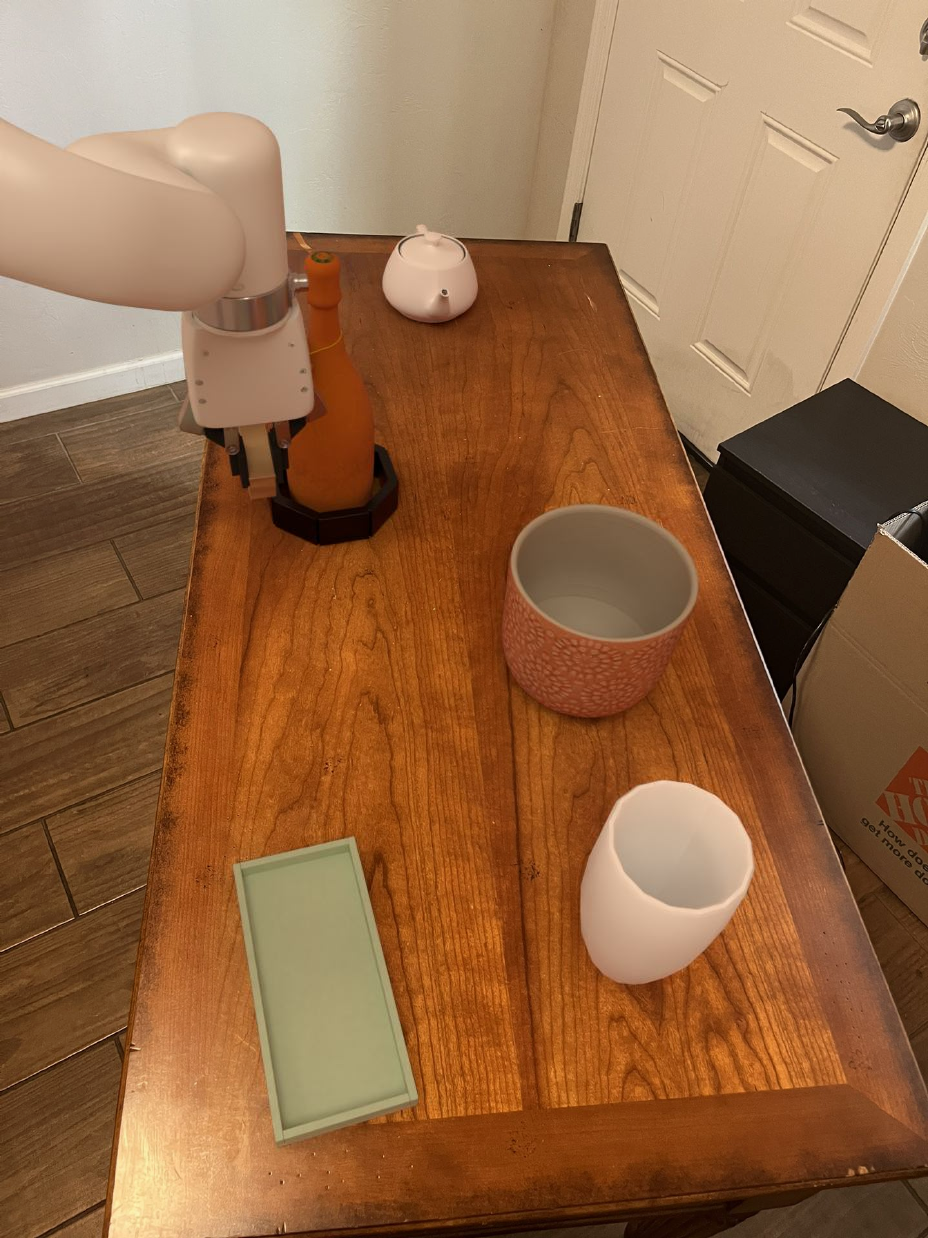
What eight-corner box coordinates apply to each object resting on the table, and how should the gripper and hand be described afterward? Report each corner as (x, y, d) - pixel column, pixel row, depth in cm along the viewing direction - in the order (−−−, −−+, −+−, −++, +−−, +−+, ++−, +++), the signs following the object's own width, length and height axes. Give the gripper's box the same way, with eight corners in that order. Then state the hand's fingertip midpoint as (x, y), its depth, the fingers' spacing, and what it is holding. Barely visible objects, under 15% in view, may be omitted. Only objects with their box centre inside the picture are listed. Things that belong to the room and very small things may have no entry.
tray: (277, 1148, 66) (275, 1142, 65) (234, 874, 79) (232, 864, 77) (417, 1105, 69) (418, 1098, 67) (354, 846, 81) (354, 836, 80)
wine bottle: (298, 464, 112) (281, 222, 90) (380, 475, 112) (383, 235, 90) (279, 521, 106) (256, 276, 83) (366, 532, 106) (366, 290, 83)
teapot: (373, 268, 142) (374, 198, 134) (462, 266, 145) (468, 198, 137) (393, 353, 129) (395, 281, 120) (490, 350, 131) (499, 278, 123)
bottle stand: (280, 552, 103) (277, 526, 100) (259, 467, 112) (256, 440, 109) (407, 533, 107) (408, 507, 103) (377, 451, 115) (378, 425, 112)
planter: (477, 615, 99) (492, 509, 88) (629, 600, 103) (663, 496, 91) (513, 751, 89) (535, 651, 77) (682, 730, 92) (727, 631, 80)
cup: (523, 973, 75) (567, 850, 59) (596, 881, 81) (654, 745, 65) (632, 1063, 72) (710, 958, 55) (700, 961, 77) (790, 838, 61)
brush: (310, 491, 89) (311, 471, 85) (243, 500, 87) (242, 480, 84) (275, 332, 94) (275, 306, 90) (212, 338, 93) (209, 312, 89)
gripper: (334, 260, 76) (339, 439, 90) (127, 276, 72) (166, 461, 86) (354, 311, 72) (356, 491, 86) (135, 331, 68) (174, 516, 82)
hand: (260, 474), depth 86 cm, fingers closed on brush, 2 cm apart
